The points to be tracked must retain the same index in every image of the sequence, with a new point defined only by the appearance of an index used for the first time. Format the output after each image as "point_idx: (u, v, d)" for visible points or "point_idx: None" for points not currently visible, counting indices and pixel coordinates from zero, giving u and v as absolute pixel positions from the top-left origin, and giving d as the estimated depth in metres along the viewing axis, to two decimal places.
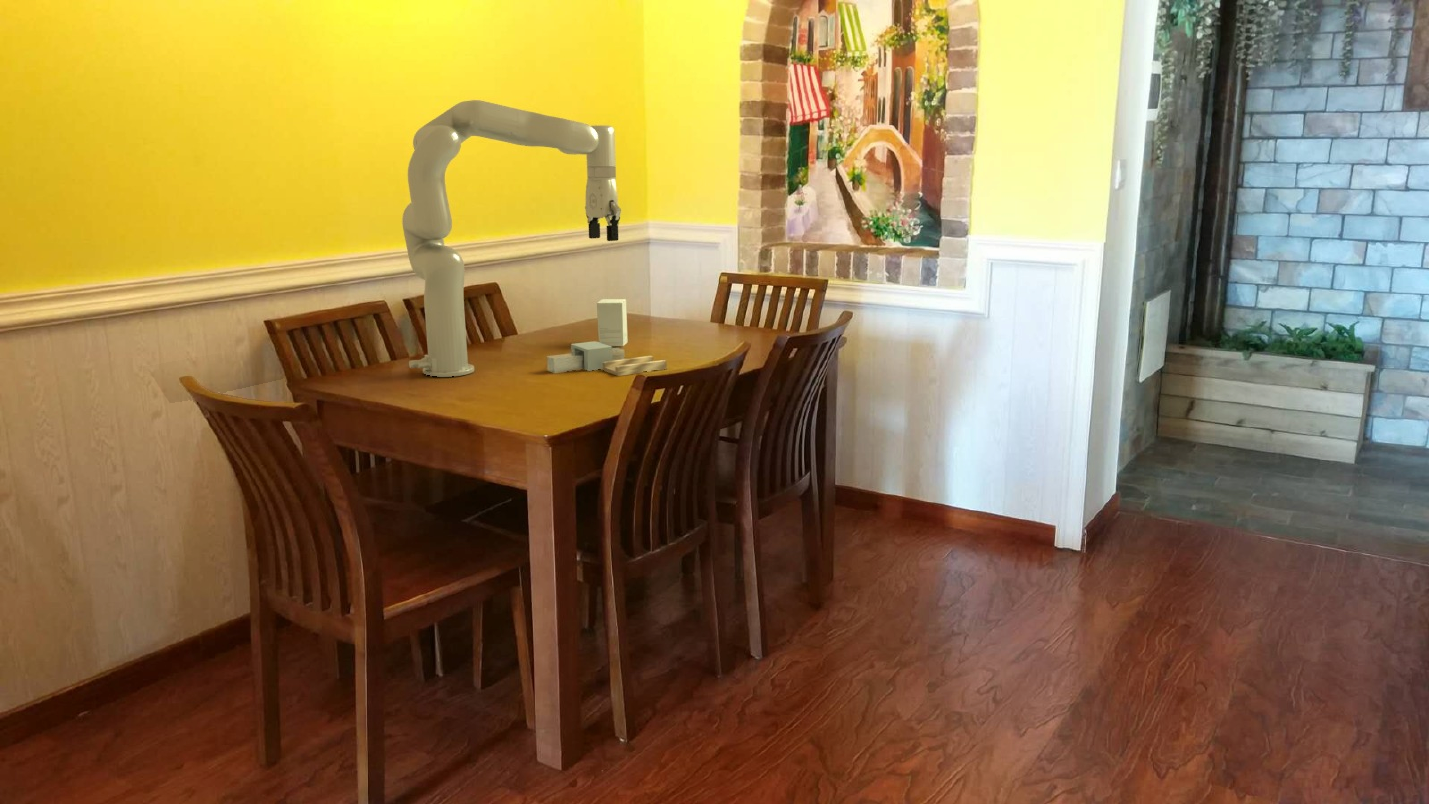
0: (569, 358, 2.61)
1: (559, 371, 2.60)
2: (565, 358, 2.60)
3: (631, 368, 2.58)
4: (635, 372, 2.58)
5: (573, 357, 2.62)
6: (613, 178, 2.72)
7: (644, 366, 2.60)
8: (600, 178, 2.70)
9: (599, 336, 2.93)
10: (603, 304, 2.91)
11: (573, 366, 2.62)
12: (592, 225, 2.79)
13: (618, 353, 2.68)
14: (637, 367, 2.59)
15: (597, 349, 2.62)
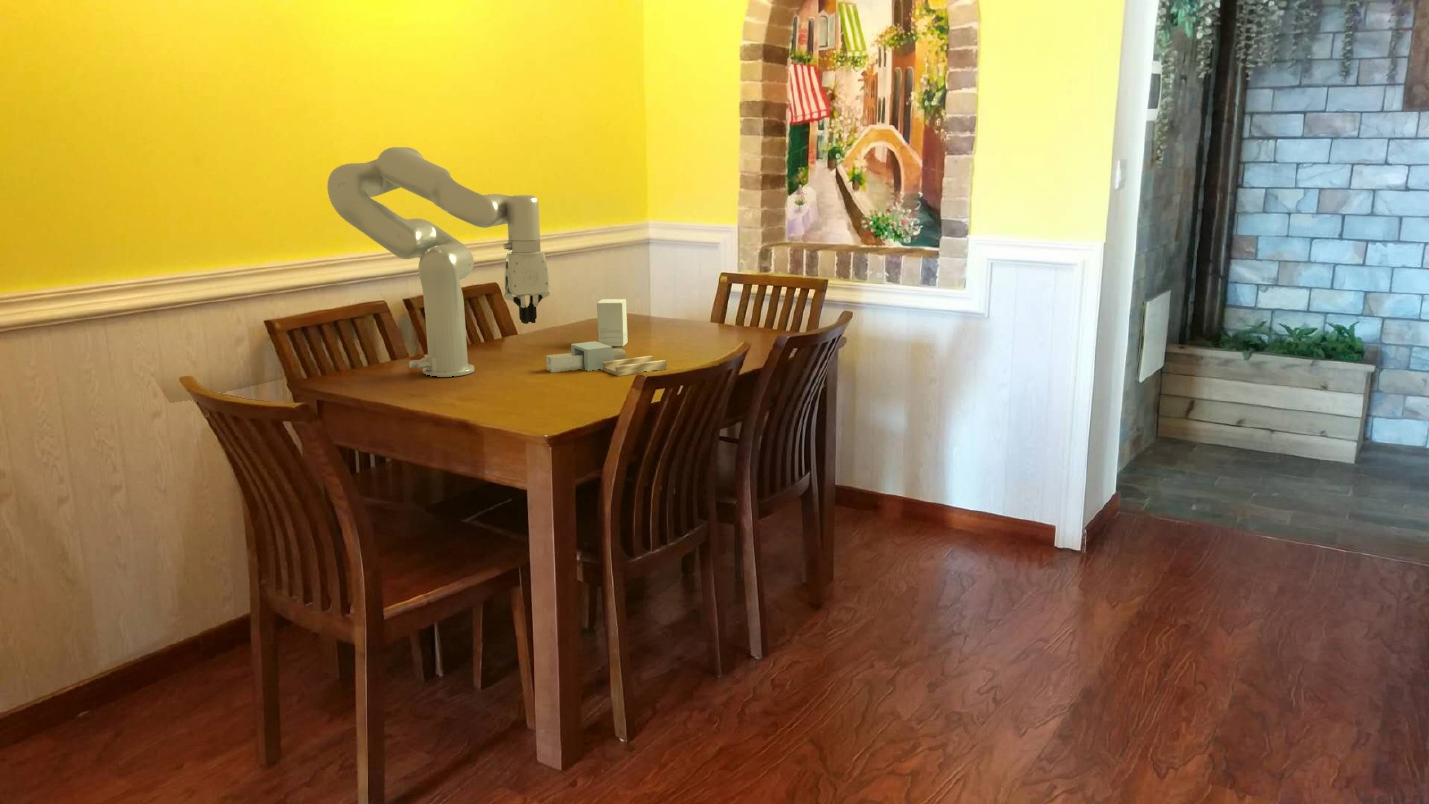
0: (567, 358, 2.61)
1: (557, 370, 2.61)
2: (563, 358, 2.61)
3: (631, 368, 2.58)
4: (635, 372, 2.58)
5: (571, 357, 2.62)
6: None
7: (644, 366, 2.60)
8: (540, 251, 2.51)
9: (599, 336, 2.93)
10: (603, 304, 2.91)
11: (572, 366, 2.62)
12: None
13: (618, 354, 2.67)
14: (637, 367, 2.59)
15: (597, 349, 2.62)
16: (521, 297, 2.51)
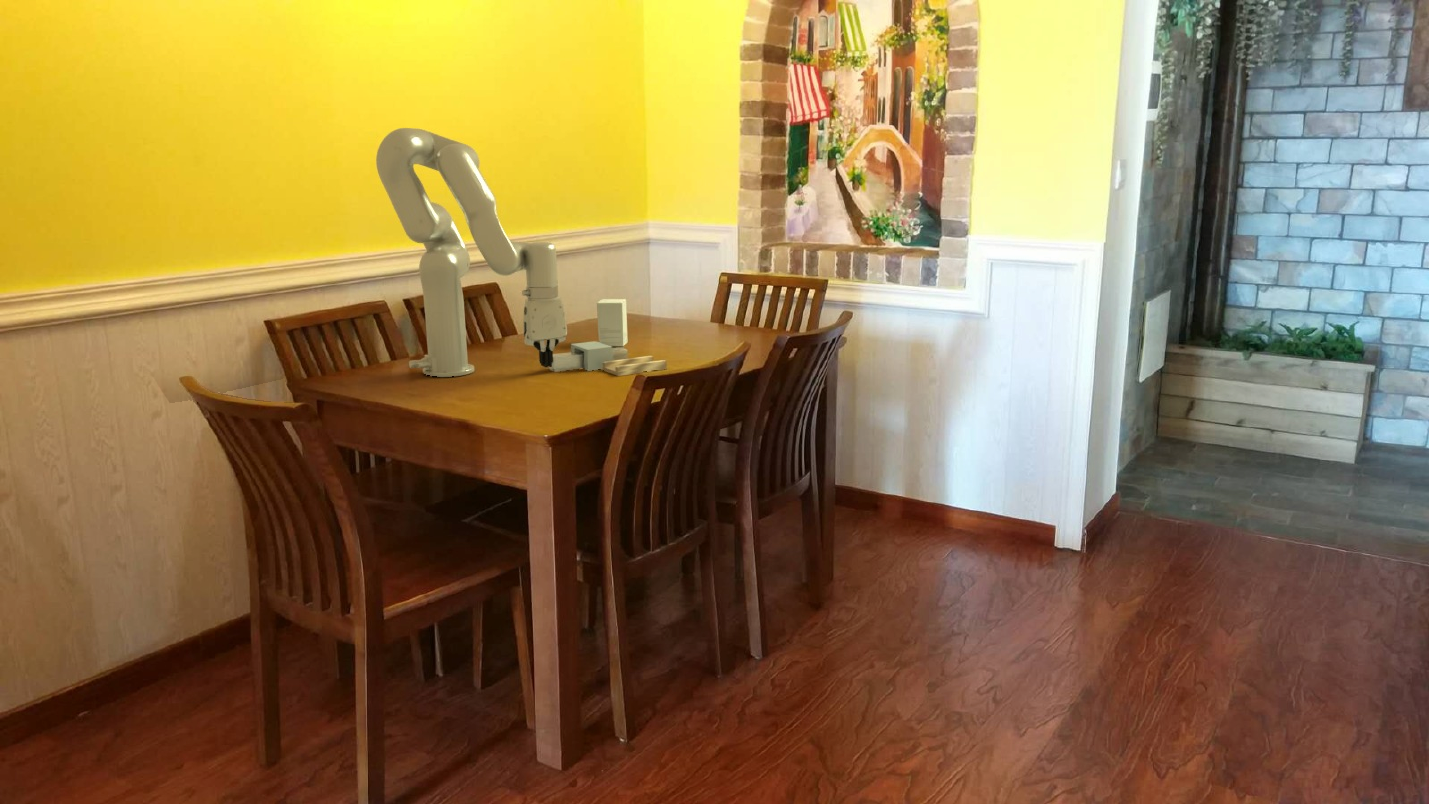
0: (570, 357, 2.62)
1: (559, 369, 2.61)
2: (566, 357, 2.61)
3: (631, 368, 2.58)
4: (635, 372, 2.58)
5: (574, 356, 2.62)
6: None
7: (644, 366, 2.60)
8: (558, 297, 2.56)
9: (599, 336, 2.93)
10: (603, 304, 2.91)
11: (574, 365, 2.63)
12: None
13: (620, 353, 2.68)
14: (637, 367, 2.59)
15: (597, 349, 2.62)
16: (540, 342, 2.56)
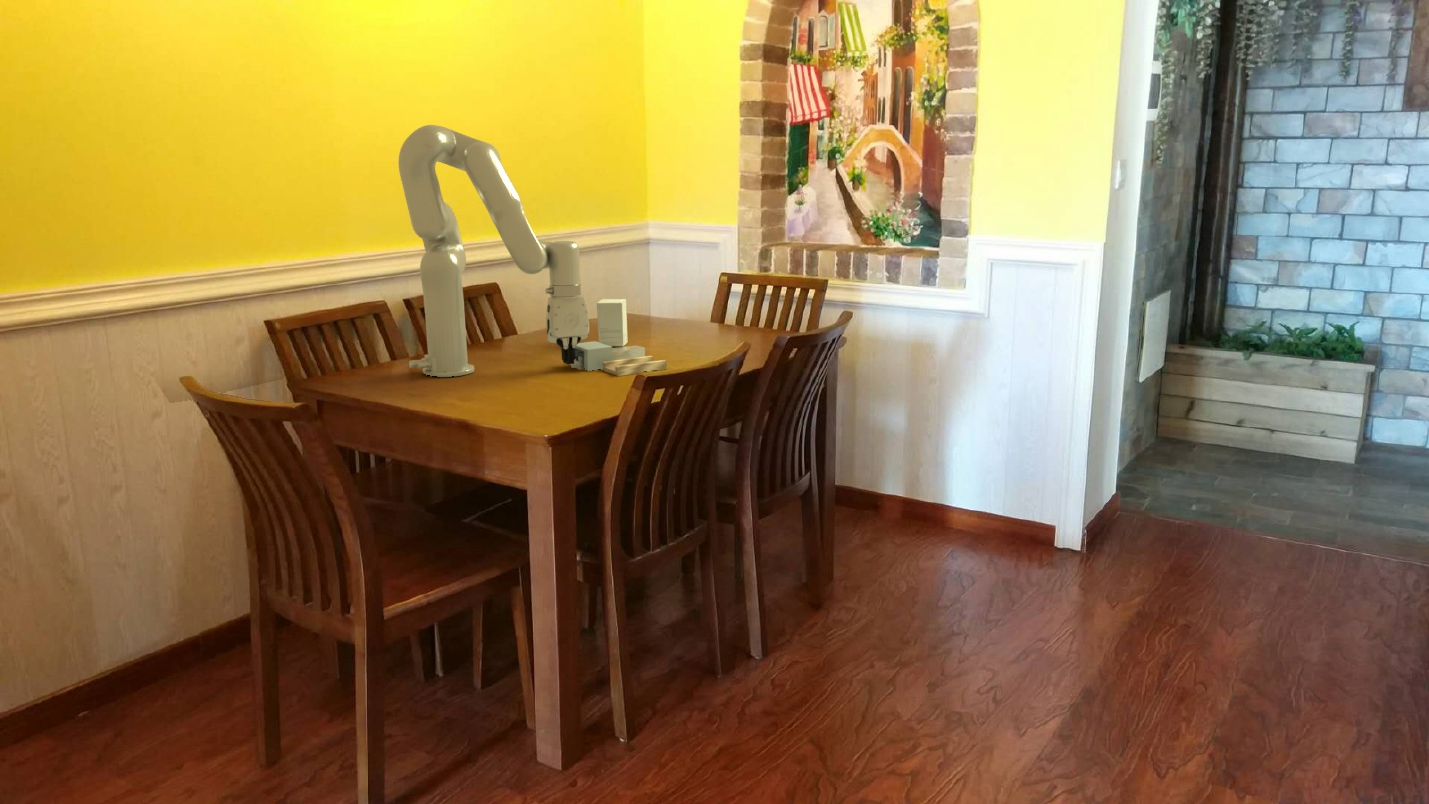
0: None
1: None
2: None
3: (631, 368, 2.58)
4: (635, 372, 2.58)
5: None
6: None
7: (644, 366, 2.60)
8: (580, 295, 2.59)
9: (599, 336, 2.93)
10: (603, 304, 2.91)
11: None
12: None
13: (638, 351, 2.73)
14: (637, 367, 2.59)
15: (597, 349, 2.62)
16: (563, 339, 2.60)
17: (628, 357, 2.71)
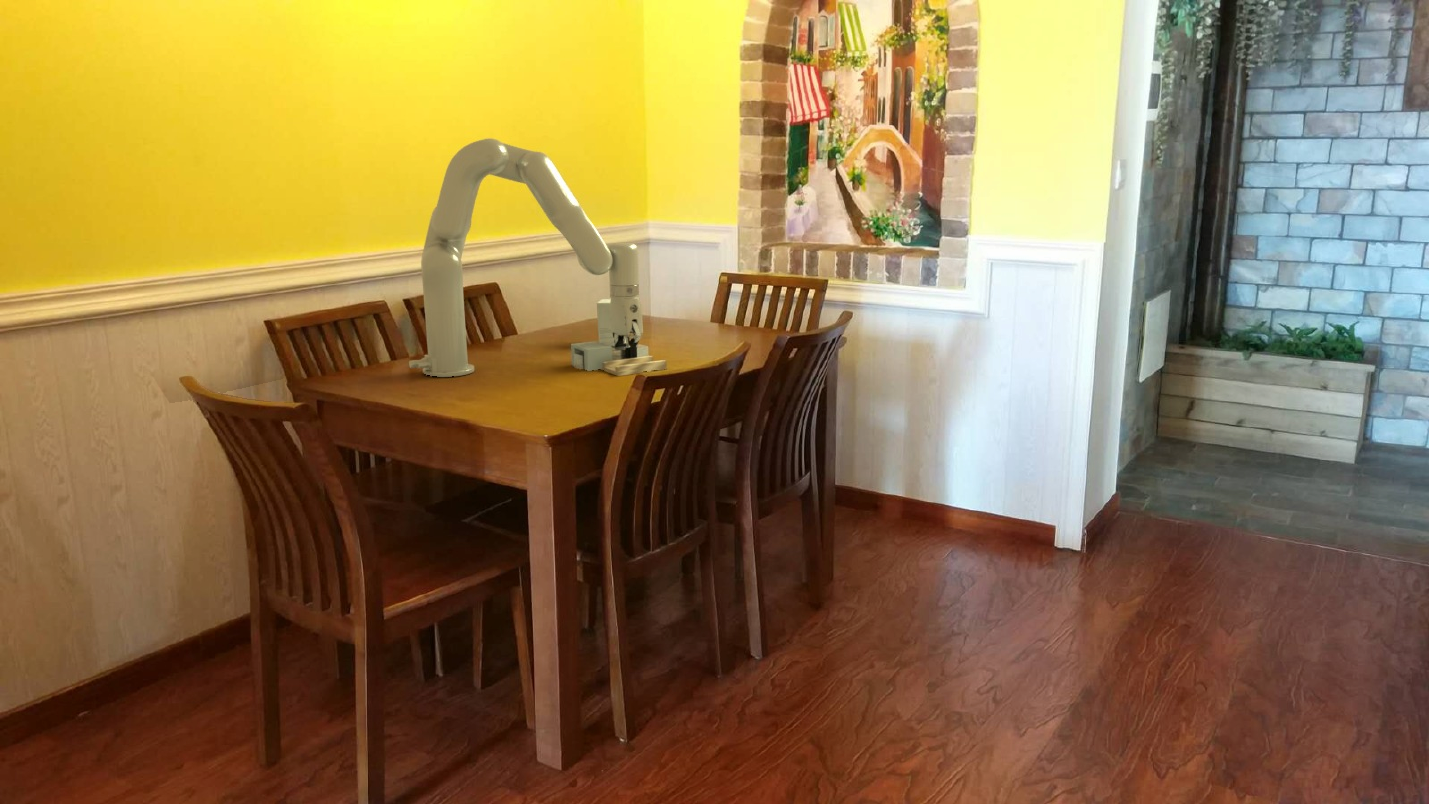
0: None
1: None
2: None
3: (631, 368, 2.58)
4: (635, 372, 2.58)
5: None
6: None
7: (644, 366, 2.60)
8: None
9: (599, 336, 2.93)
10: (603, 304, 2.91)
11: None
12: None
13: (642, 350, 2.73)
14: (637, 367, 2.59)
15: (597, 349, 2.62)
16: None
17: None
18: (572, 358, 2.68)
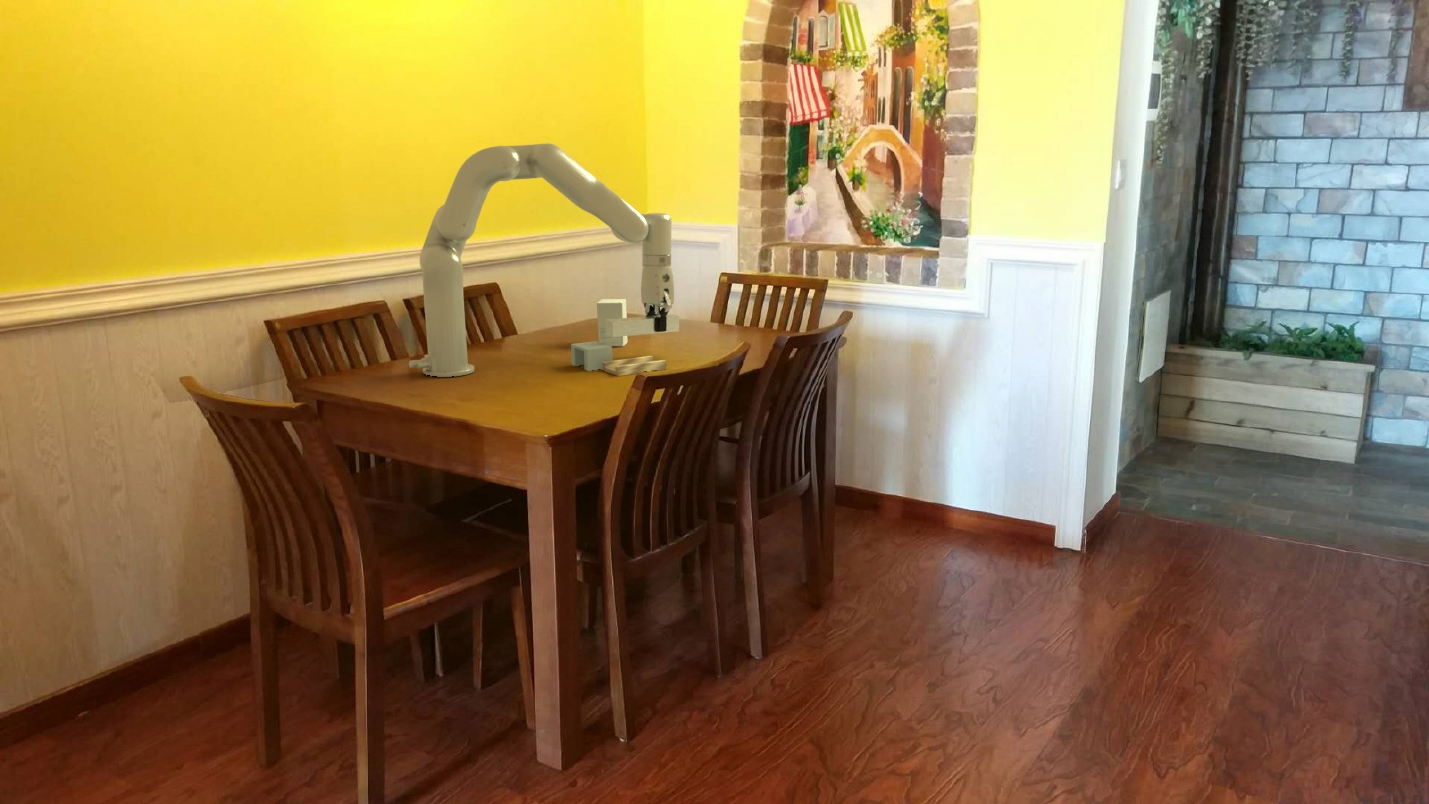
0: (627, 322, 2.68)
1: (617, 334, 2.67)
2: (623, 321, 2.68)
3: (631, 368, 2.58)
4: (635, 372, 2.58)
5: (631, 321, 2.69)
6: None
7: (644, 366, 2.60)
8: None
9: (599, 336, 2.93)
10: (603, 304, 2.91)
11: (631, 330, 2.69)
12: None
13: (673, 319, 2.76)
14: (637, 367, 2.59)
15: (597, 349, 2.62)
16: None
17: None
18: (572, 358, 2.68)
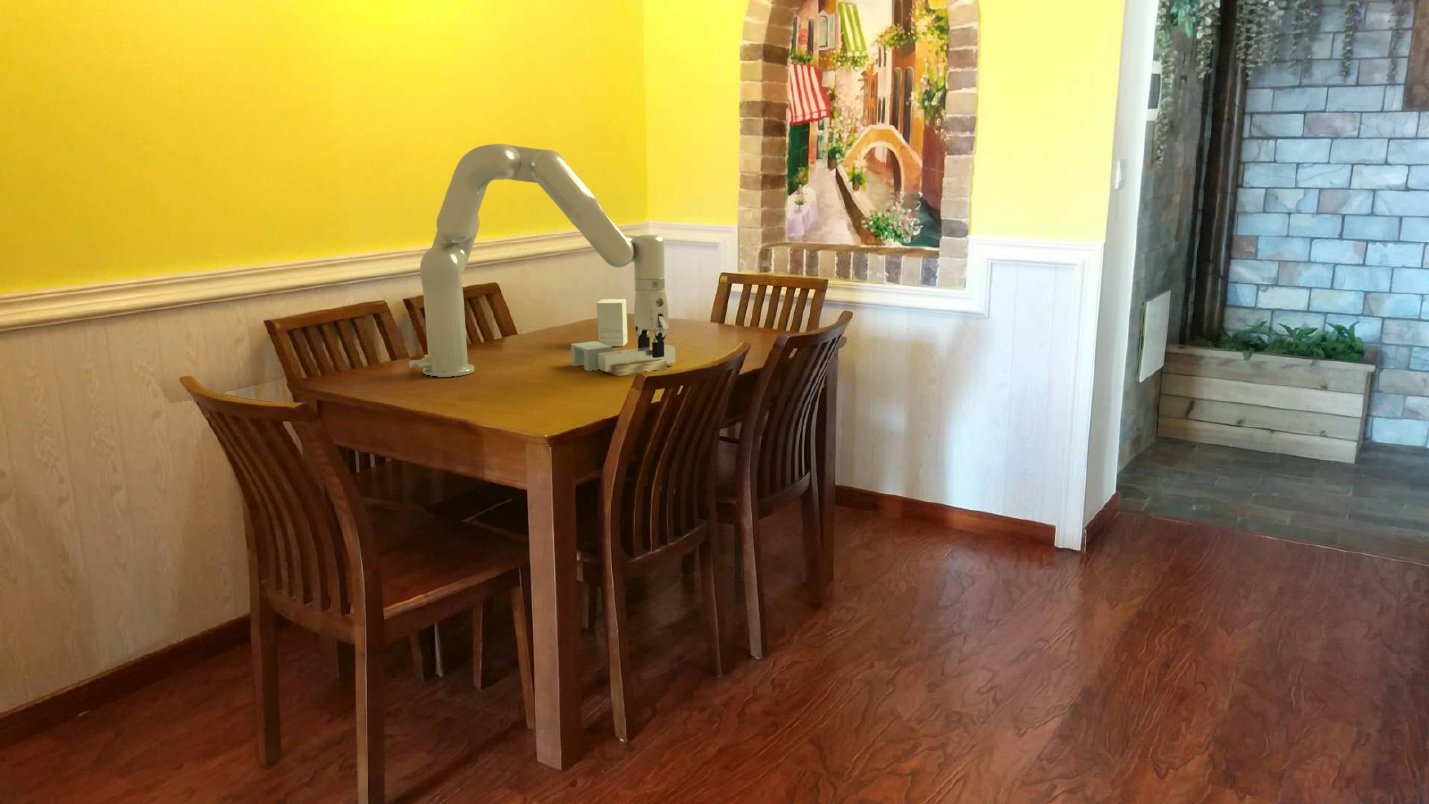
0: (620, 355, 2.58)
1: (610, 368, 2.57)
2: (616, 355, 2.57)
3: (631, 368, 2.58)
4: (635, 372, 2.58)
5: (624, 354, 2.58)
6: None
7: (644, 366, 2.60)
8: None
9: (599, 336, 2.93)
10: (603, 304, 2.91)
11: (625, 363, 2.59)
12: None
13: (668, 350, 2.65)
14: (637, 367, 2.59)
15: (597, 349, 2.62)
16: None
17: None
18: (572, 358, 2.68)
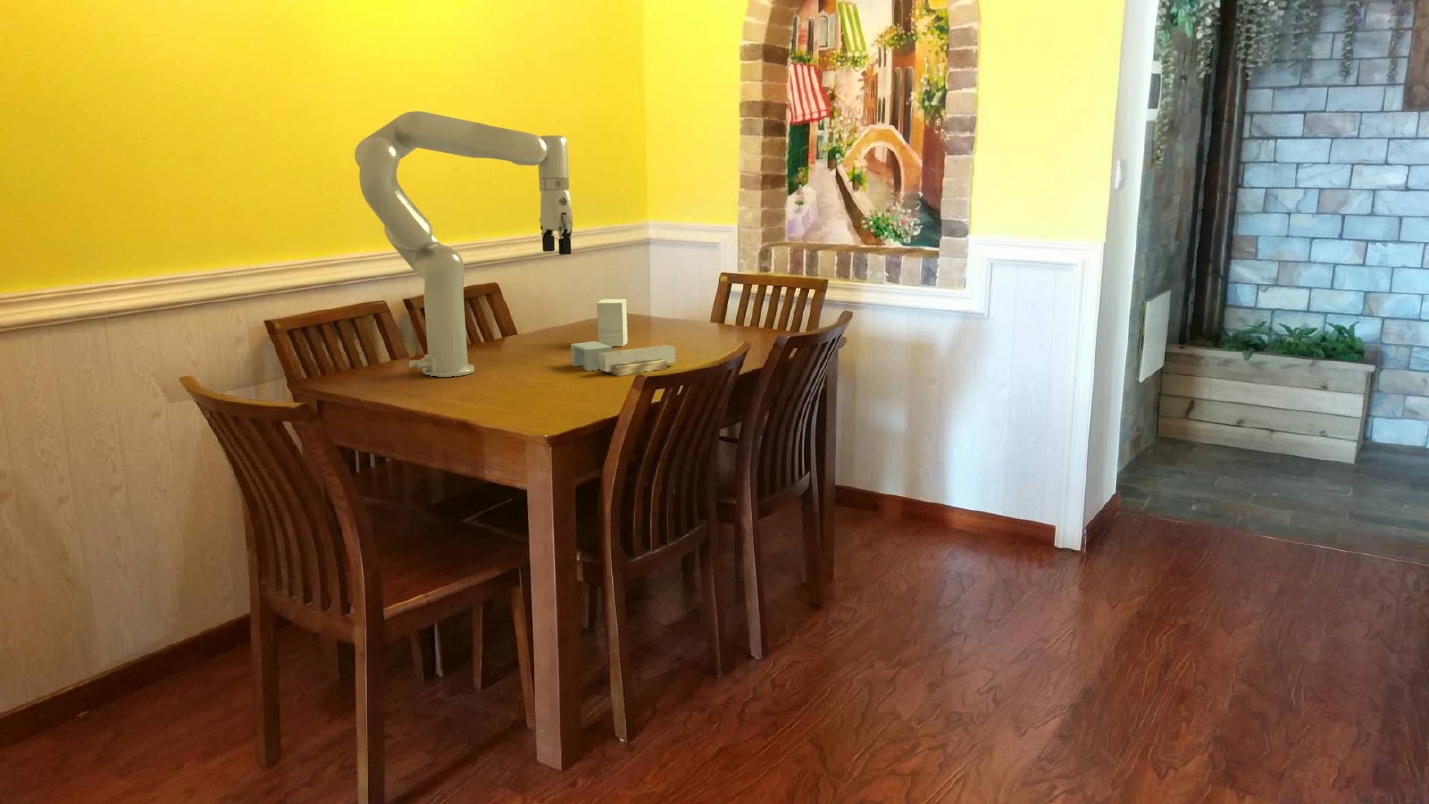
0: (620, 355, 2.58)
1: (610, 368, 2.57)
2: (616, 355, 2.57)
3: (631, 368, 2.58)
4: (635, 372, 2.58)
5: (624, 354, 2.58)
6: None
7: (644, 366, 2.60)
8: None
9: (599, 336, 2.93)
10: (603, 304, 2.91)
11: (625, 363, 2.59)
12: None
13: (668, 350, 2.65)
14: (637, 367, 2.59)
15: (597, 349, 2.62)
16: None
17: (657, 357, 2.64)
18: (572, 358, 2.68)
